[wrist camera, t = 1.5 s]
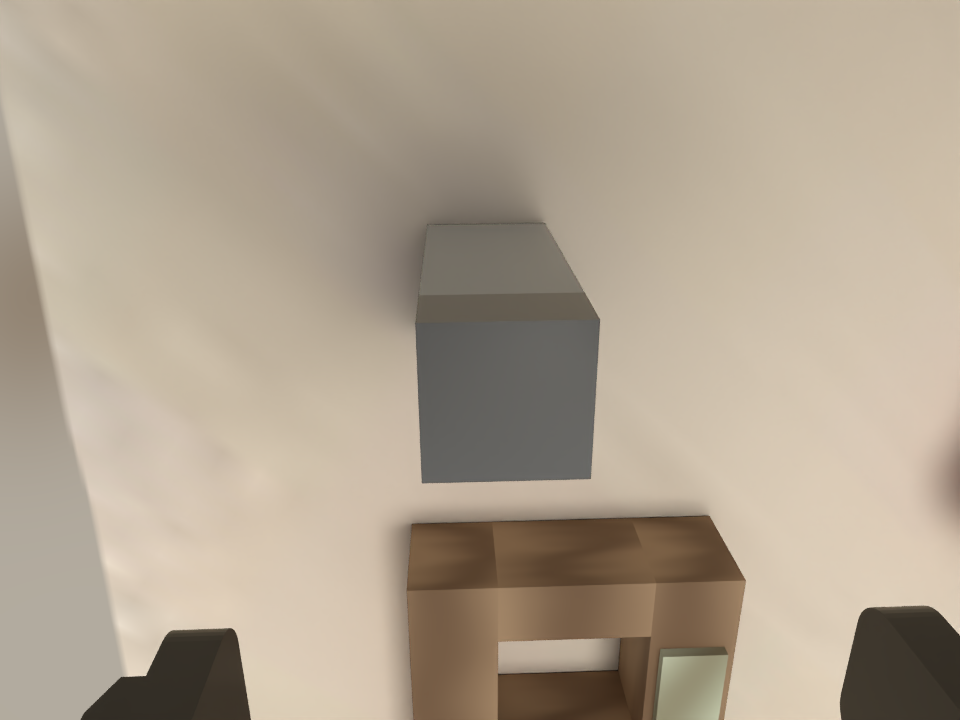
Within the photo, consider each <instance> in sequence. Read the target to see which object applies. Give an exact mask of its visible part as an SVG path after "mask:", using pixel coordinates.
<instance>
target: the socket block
mask: <svg viewBox="0 0 960 720" xmlns="http://www.w3.org/2000/svg"><path fill="white" fill-rule="evenodd" d="M745 583H746V580H745V578H744V576H743V575H742V573H741V571H740V569H739V568H738V566H737V564H736V562H735V560H734V559H733V557H732V555H731V553H730V552H729V550H728V548H727V546H726V545H725V543H724V541H723V539H722V537H721V536H720V534H719V532H718V530H717V529H716V527H715V525H714V523H713V521H712V520H711V518H710V516H696V517H660V518H623V519H587V520H550V521H514V522H477V523H441V524H412V530H411V543H410V556H409V569H408V582H407V604H408V623H409V642H410V661H411V680H412V699H413V718H414V720H724V715H725V709H726V703H727V696H728V690H729V684H730V677H731V671H732V665H733V658H734V652H735V646H736V639H737V633H738V627H739V621H740V614H741V608H742V602H743V595H744V589H745ZM594 638H621V643H620V655H619V667H618V671H597V672H568V673H539V674H509V675H498V642H502V641H533V640H563V639H594Z"/></svg>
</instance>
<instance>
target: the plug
mask: <svg viewBox="0 0 960 720" xmlns="http://www.w3.org/2000/svg"><path fill="white" fill-rule="evenodd" d="M415 325H416V350H417V374H418V399H419V424H420V448H421V473H422V483H453V482H492V481H531V480H570V479H591V466H592V448H593V431H594V414H595V397H596V380H597V363H598V345H599V328H600V319H599V317H598V315H597V313H596V312H595V310H594V308H593V306H592V305H591V303H590V301H589V299H588V298H587V296H586V294H585V292H584V291H583V289H582V287H581V285H580V284H579V282H578V280H577V278H576V277H575V275H574V273H573V271H572V270H571V268H570V266H569V264H568V263H567V261H566V259H565V257H564V256H563V254H562V252H561V250H560V249H559V247H558V245H557V243H556V242H555V240H554V238H553V236H552V235H551V233H550V231H549V229H548V228H547V226H546V224H545V223H516V224H444V225H427V232H426V240H425V248H424V256H423V265H422V273H421V281H420V289H419V298H418V306H417V314H416V322H415Z"/></svg>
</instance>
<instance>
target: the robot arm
mask: <svg viewBox="0 0 960 720" xmlns="http://www.w3.org/2000/svg"><path fill="white" fill-rule="evenodd" d="M840 712H841V719H842V720H960V635H959V634H958V633H957V632H956V631H955V630H954V628H953V627H952V626H951V625H950V624H949V623H948V622H947V621H946V620H945V618H944V617H943V616H942V615H941V614H940V613H939V612H938V611H936V610H935V609H933V608H931V607H929V606H902V607H874V608H867V609H865V610H864V611H863V612H862V613H861V615H860V617H859V620H858V623H857V628H856V632H855V636H854V640H853V645H852V649H851V653H850V658H849V662H848V666H847V670H846V675H845V679H844V683H843V688H842V692H841V698H840ZM81 720H251V718H250V711H249V705H248V699H247V693H246V686H245V680H244V674H243V668H242V662H241V656H240V649H239V643H238V638H237V635H236V633H235V631H234V630H233V629H231V628H226V629H198V630H173V631H170V632H169V633H168V634H167V635H166V637H165V638H164V640H163V642H162V644H161V646H160V648H159V650H158V652H157V654H156V656H155V658H154V660H153V662H152V665H151V667H150V669H149V671H148V673H147V675H146V676H137V677H121V678H120V679H119V680H118V681H117V682H116V683H115V684H113V685H112V686H111V687H110V688H109V689H108V690H107V691H106V692H105V693H104V695H102V696H101V697H100V698H99V699H98V700H97V701H96V702H95V703H94V704H93V705H92V706H91V707H90V708H89V709H88V710H87V711H86V712H85V713H84V714H83V716H82V718H81Z"/></svg>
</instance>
